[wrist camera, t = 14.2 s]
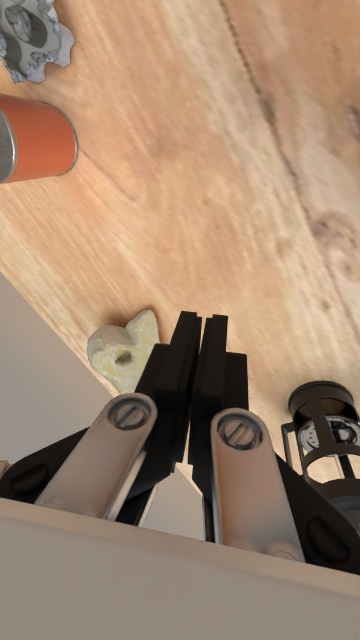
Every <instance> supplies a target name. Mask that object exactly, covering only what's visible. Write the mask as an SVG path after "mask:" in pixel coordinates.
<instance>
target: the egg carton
mask: <svg viewBox="0 0 360 640" xmlns="http://www.w3.org/2000/svg"><path fill="white" fill-rule="evenodd" d="M54 1H55V0H0V60H1V61H2V62H3V64H4V66H5V67H6V69H7V70H8V71H9V72H10V73H11V78H12V80H13V82H14V83H15V84H16V83H17V82H25V81H26V80H27V79H28V80H31V81H34V82H37V83H39V82H41V81H43V80H45V76H44V67H45V65H46V62H47V61H48V62H53V63H56V64H58V65H60V66H61V67H65V66H67V65H69V64H70V63H71V62H70V49H71V47H72V46H73V44H74V43H75V40H74V37H73V35H72V33H71V31H70V30H69V29H68V28H67V27H65V26H64V25H62V24H61V23H59V22H58V17H57V14H56V11H55V10H54V8H53V3H54Z"/></svg>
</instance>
